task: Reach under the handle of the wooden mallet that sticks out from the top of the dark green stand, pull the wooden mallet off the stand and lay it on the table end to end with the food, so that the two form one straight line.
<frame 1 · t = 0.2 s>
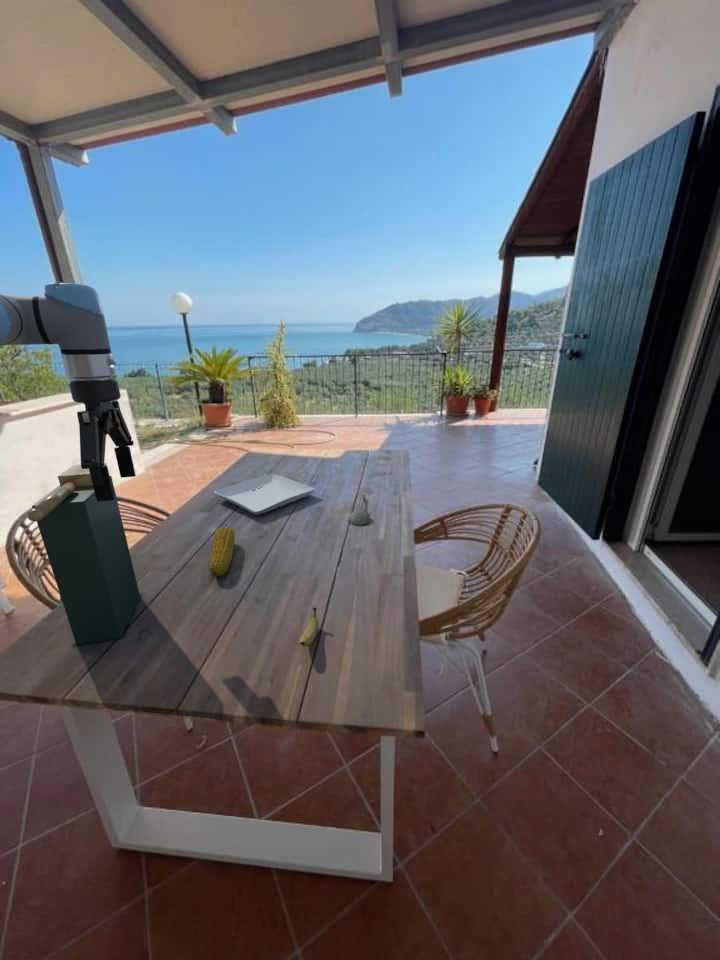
hand: (118, 487, 78), 29 cm above the table, tool pointing down, fingers open, 13 cm apart
wooden mallet: (68, 495, 71), point 30 cm above the table, touching stand
square plate: (265, 499, 146), on the table
banana: (310, 640, 78), on the table
soupspoon: (361, 511, 135), on the table
stand: (110, 618, 84), on the table
food: (224, 559, 106), on the table
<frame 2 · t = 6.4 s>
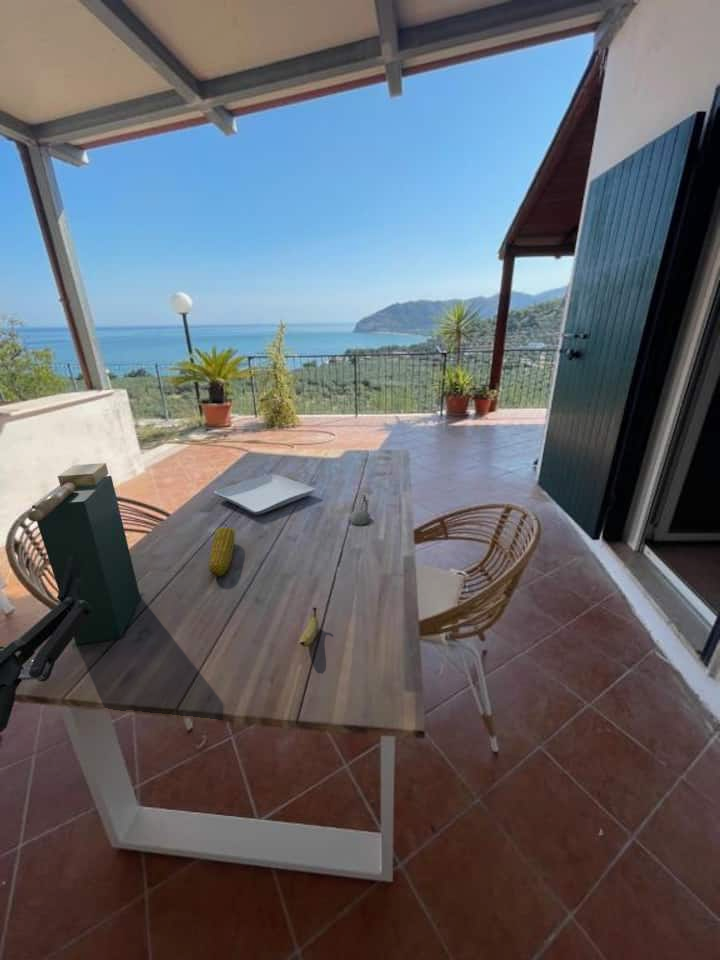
hand: (22, 566, 56), 26 cm above the table, tool pointing upward, fingers open, 13 cm apart
nothing on the table moved.
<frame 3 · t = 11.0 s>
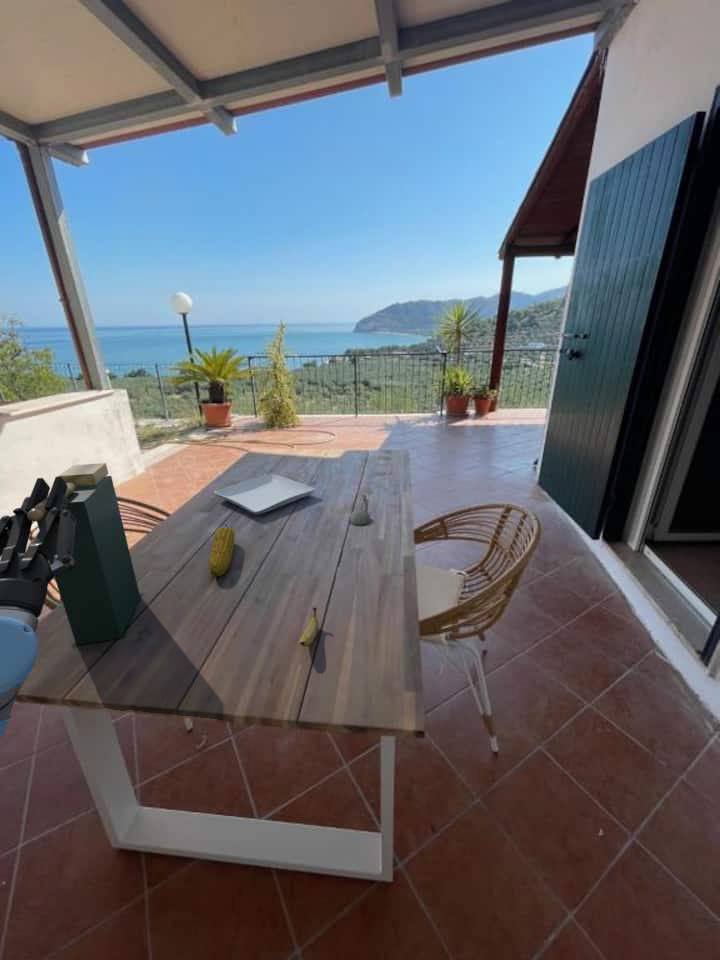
hand: (52, 482, 66), 34 cm above the table, tool pointing upward, fingers closed on wooden mallet, 2 cm apart
wooden mallet: (68, 495, 71), point 30 cm above the table, touching gripper, stand
everything else where it was.
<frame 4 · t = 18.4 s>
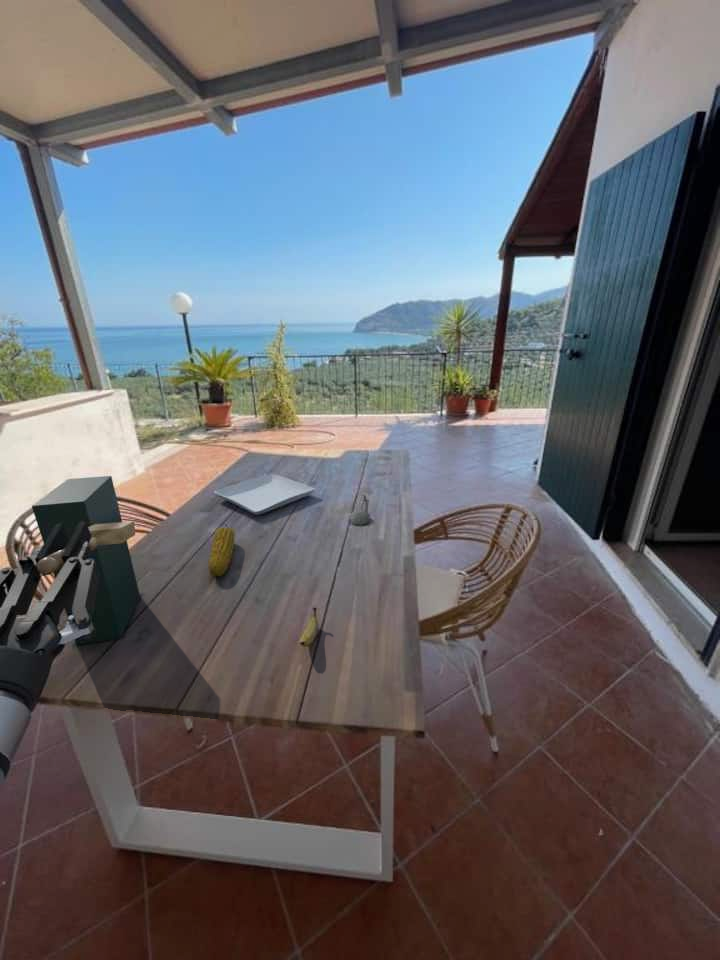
hand: (74, 530, 52), 33 cm above the table, tool horizontal, fingers closed on wooden mallet, 2 cm apart
wooden mallet: (88, 552, 55), point 28 cm above the table, tilted 16°, touching gripper
everything else where it was.
when the fingers open (11 cm above the table, at t = 25.7 s): wooden mallet drops 6 cm, on the table.
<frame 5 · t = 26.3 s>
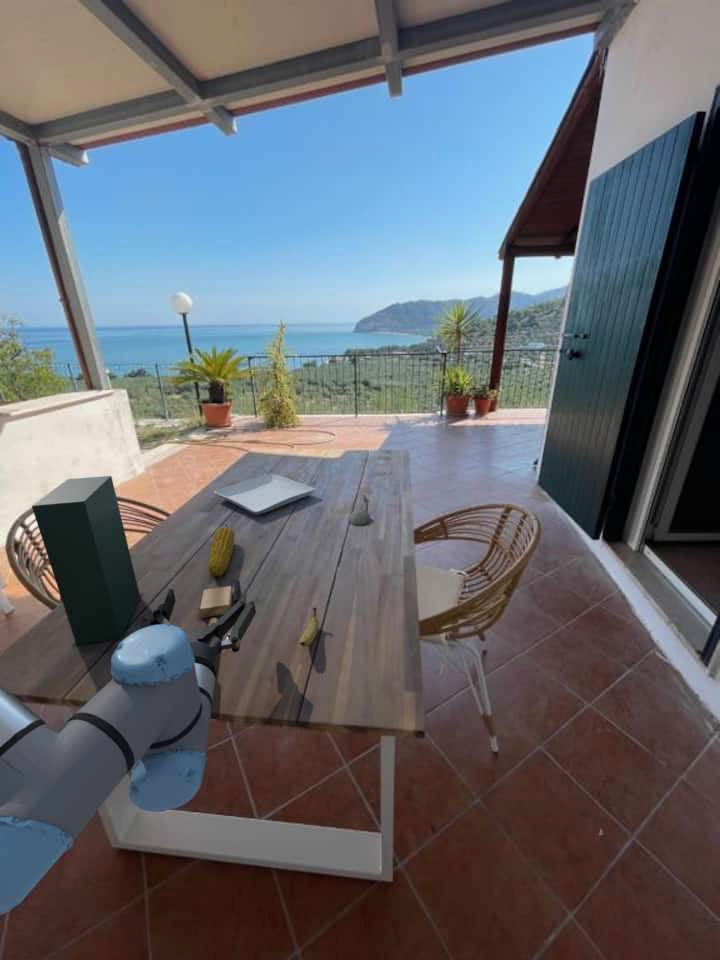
hand: (205, 590, 76), 11 cm above the table, tool horizontal, fingers open, 11 cm apart
wooden mallet: (214, 630, 80), on the table
everything else where it was.
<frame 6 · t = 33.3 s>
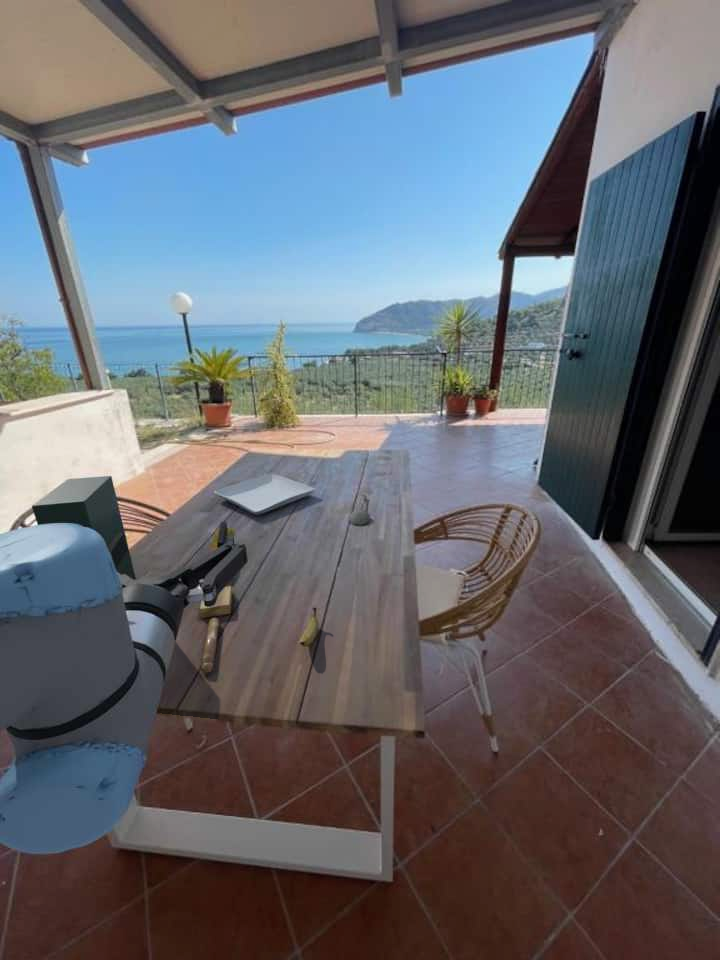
hand: (175, 535, 56), 30 cm above the table, tool horizontal, fingers open, 13 cm apart
nothing on the table moved.
at the end: wooden mallet inside the target area (4.4 cm from its centre), on the table; wooden mallet 28.4 cm from the food (horizontally); the gripper is holding nothing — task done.
